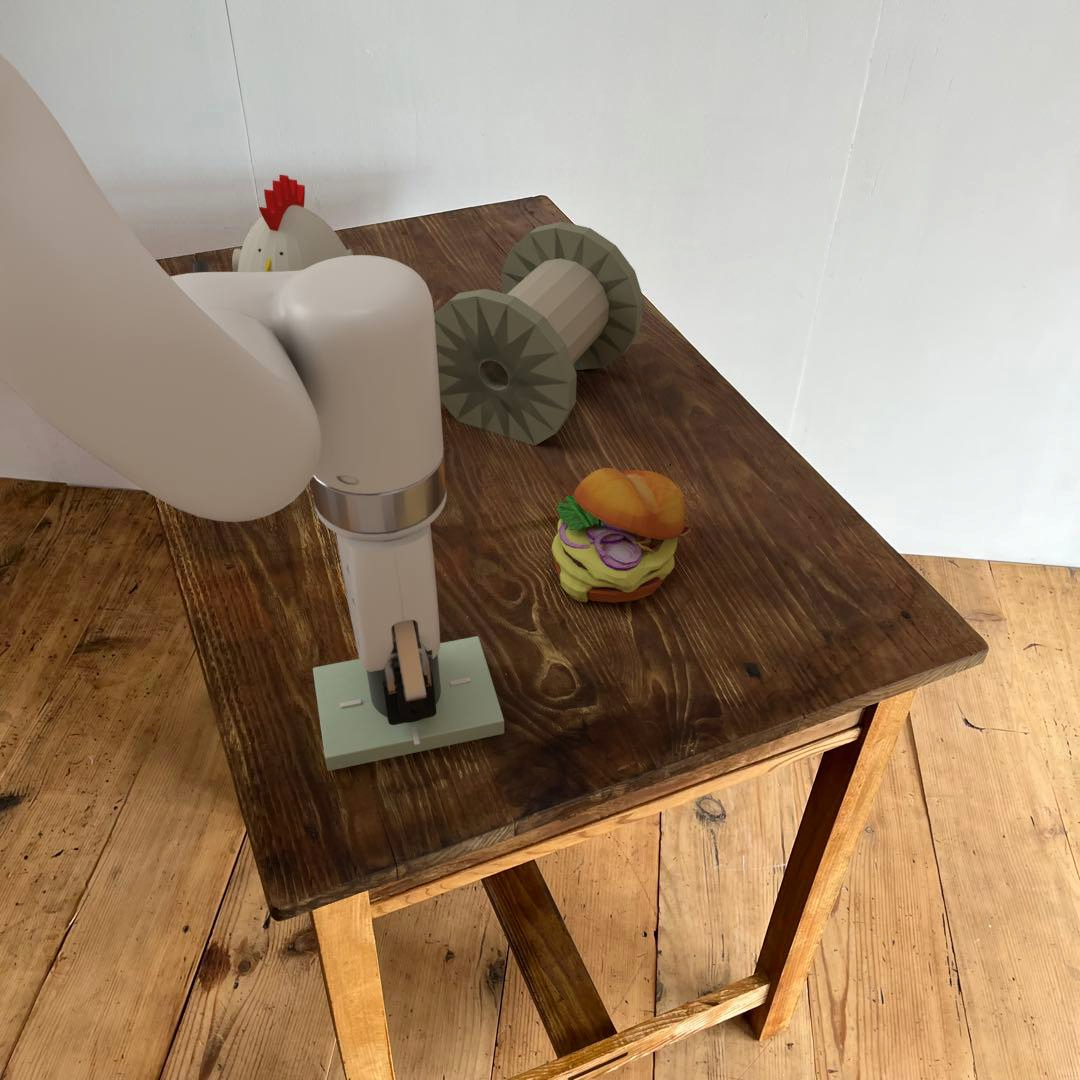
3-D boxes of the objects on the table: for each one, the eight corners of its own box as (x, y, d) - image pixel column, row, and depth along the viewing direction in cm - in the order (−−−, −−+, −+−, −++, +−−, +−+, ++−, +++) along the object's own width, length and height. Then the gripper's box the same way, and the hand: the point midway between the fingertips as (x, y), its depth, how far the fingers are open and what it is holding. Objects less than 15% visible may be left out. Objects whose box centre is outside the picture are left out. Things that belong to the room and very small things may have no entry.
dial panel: (331, 791, 67) (325, 763, 65) (317, 689, 74) (311, 660, 72) (506, 753, 70) (506, 725, 68) (478, 657, 76) (477, 629, 74)
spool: (509, 341, 110) (507, 208, 100) (637, 377, 105) (648, 241, 95) (428, 420, 99) (417, 280, 89) (566, 465, 94) (571, 321, 84)
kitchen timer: (215, 328, 111) (184, 196, 101) (275, 271, 121) (252, 145, 111) (331, 348, 108) (311, 214, 98) (383, 288, 118) (369, 161, 108)
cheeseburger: (518, 571, 83) (538, 463, 78) (600, 534, 90) (624, 434, 85) (611, 633, 78) (639, 523, 73) (691, 589, 85) (722, 486, 80)
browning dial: (447, 712, 69) (442, 655, 65) (376, 727, 68) (367, 670, 64) (433, 660, 72) (428, 603, 68) (366, 673, 71) (357, 616, 67)
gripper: (296, 404, 62) (334, 609, 75) (330, 594, 50) (368, 802, 63) (416, 386, 64) (434, 590, 76) (478, 566, 52) (487, 774, 64)
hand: (404, 684), depth 69 cm, fingers closed on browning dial, 4 cm apart
